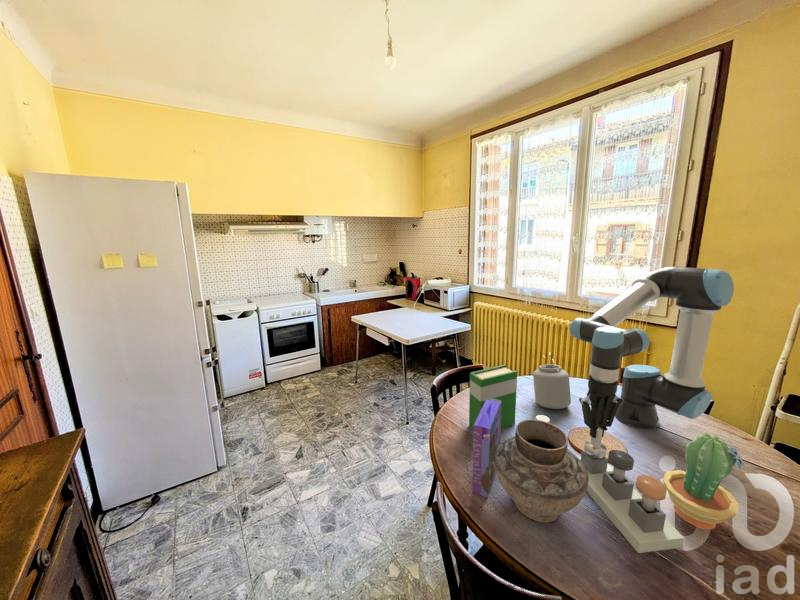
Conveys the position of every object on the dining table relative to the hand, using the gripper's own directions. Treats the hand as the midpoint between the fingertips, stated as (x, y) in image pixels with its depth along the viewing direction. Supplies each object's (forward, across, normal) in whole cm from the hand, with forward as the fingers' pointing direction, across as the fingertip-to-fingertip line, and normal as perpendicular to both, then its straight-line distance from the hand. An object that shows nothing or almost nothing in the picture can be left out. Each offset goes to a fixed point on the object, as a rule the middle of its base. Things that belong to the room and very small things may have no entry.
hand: (595, 445), depth 101 cm
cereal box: (+12, +34, -4) cm, 36 cm away
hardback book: (+12, +22, -31) cm, 40 cm away
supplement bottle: (+12, +10, -14) cm, 21 cm away
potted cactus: (+11, -18, +17) cm, 27 cm away
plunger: (+7, 0, 0) cm, 7 cm away
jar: (+11, -10, -43) cm, 46 cm away
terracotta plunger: (+3, 0, +20) cm, 20 cm away
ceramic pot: (+12, +24, +8) cm, 28 cm away
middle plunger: (+3, 0, +10) cm, 10 cm away
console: (+11, 0, +10) cm, 15 cm away
